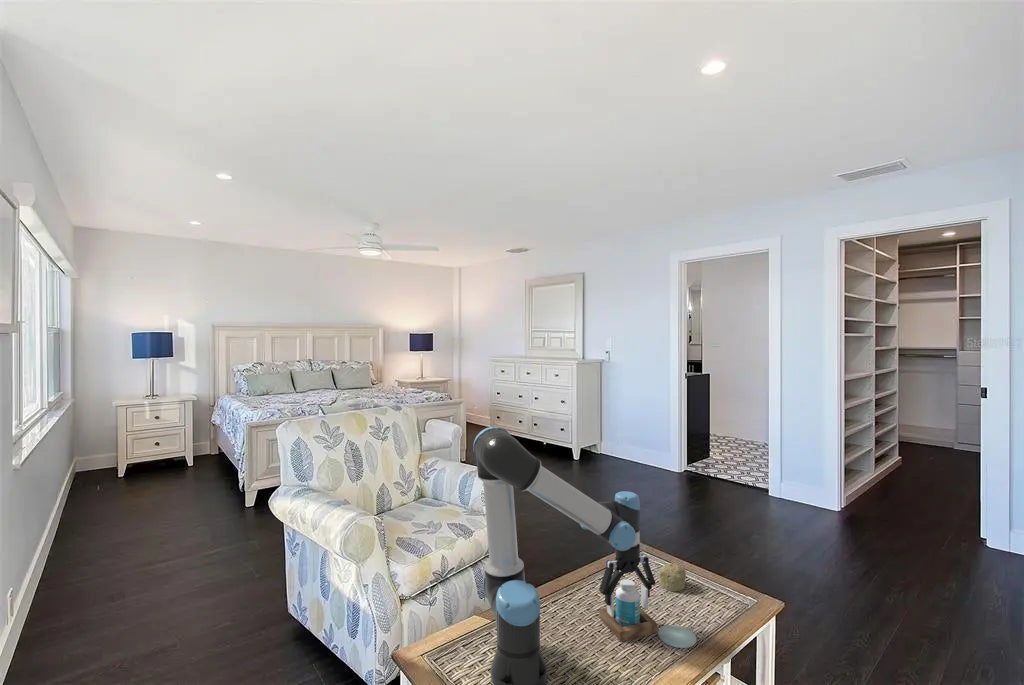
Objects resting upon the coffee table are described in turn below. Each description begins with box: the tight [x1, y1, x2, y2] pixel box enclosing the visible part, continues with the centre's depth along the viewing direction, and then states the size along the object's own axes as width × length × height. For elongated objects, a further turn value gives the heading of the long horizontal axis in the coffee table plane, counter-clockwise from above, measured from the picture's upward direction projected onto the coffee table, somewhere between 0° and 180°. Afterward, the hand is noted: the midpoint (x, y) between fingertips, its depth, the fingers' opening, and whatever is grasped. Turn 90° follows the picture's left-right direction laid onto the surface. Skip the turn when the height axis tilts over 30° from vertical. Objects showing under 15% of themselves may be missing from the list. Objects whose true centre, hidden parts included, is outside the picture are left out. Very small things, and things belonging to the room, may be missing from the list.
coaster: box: [657, 624, 697, 649], centre depth 152 cm, size 11×11×1 cm
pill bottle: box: [615, 579, 641, 627], centre depth 158 cm, size 8×7×14 cm
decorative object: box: [658, 562, 687, 593], centre depth 182 cm, size 9×10×10 cm
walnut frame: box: [598, 605, 659, 642], centre depth 158 cm, size 13×13×3 cm
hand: (627, 610), depth 158 cm, fingers open, 11 cm apart
